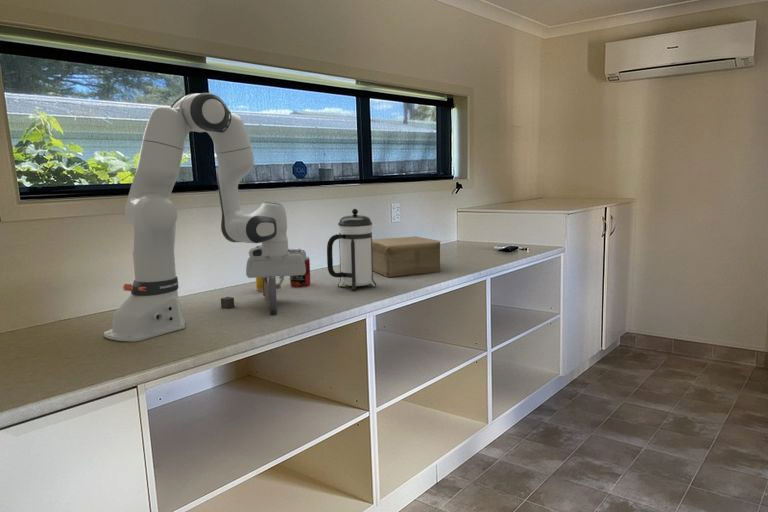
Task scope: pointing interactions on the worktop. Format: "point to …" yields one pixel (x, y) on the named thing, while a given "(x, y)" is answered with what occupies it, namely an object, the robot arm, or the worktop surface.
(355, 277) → the coffee press
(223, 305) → the dark grey cube
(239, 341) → the worktop surface
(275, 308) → the gate post
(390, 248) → the paper package
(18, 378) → the worktop surface
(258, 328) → the worktop surface
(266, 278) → the gate
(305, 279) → the canned food
